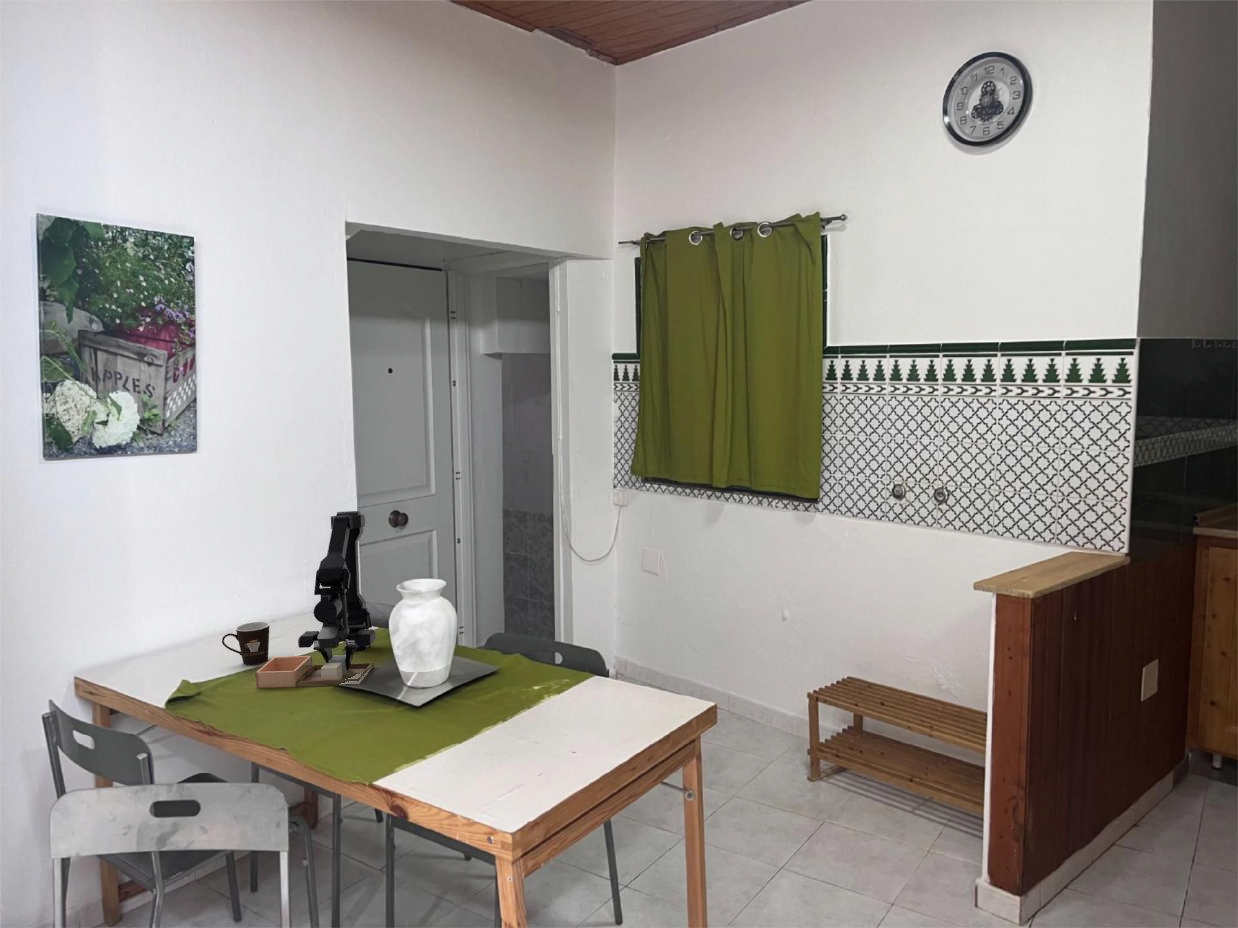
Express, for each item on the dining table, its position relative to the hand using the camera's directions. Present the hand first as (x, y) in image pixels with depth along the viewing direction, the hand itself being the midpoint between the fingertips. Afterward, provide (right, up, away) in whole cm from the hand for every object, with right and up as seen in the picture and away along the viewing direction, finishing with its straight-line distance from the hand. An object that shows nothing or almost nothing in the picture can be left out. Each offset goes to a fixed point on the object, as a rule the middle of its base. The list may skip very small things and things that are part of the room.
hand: (339, 670), depth 235 cm
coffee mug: (-29, -1, +13) cm, 32 cm away
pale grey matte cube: (0, -1, 0) cm, 1 cm away
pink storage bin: (-13, -2, -3) cm, 14 cm away
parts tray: (0, -2, -3) cm, 3 cm away
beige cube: (0, -1, -6) cm, 6 cm away
